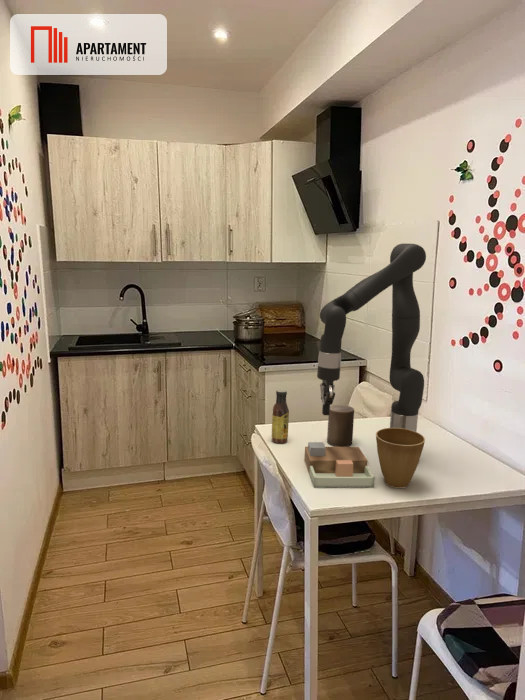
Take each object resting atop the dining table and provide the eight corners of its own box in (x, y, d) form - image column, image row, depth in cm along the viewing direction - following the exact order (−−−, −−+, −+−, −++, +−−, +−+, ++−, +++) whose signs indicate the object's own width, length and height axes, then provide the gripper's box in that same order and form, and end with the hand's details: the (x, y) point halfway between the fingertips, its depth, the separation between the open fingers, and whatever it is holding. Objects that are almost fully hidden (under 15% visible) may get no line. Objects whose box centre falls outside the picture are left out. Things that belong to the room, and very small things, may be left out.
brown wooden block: (357, 460, 181) (358, 446, 180) (366, 475, 169) (367, 460, 168) (304, 460, 180) (304, 446, 179) (309, 474, 168) (310, 460, 167)
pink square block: (351, 460, 167) (353, 463, 164) (350, 474, 168) (352, 478, 165) (336, 460, 167) (338, 463, 164) (335, 474, 167) (337, 478, 165)
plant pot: (368, 472, 171) (372, 426, 168) (413, 474, 171) (417, 428, 168) (377, 493, 157) (381, 443, 154) (426, 495, 156) (431, 445, 153)
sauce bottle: (286, 444, 193) (288, 393, 189) (270, 443, 194) (271, 392, 191) (288, 438, 200) (291, 389, 196) (273, 437, 201) (274, 388, 197)
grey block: (322, 450, 176) (322, 442, 175) (325, 456, 171) (325, 447, 170) (307, 450, 175) (308, 442, 175) (310, 456, 171) (310, 447, 170)
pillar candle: (354, 447, 193) (356, 409, 190) (327, 446, 193) (330, 408, 190) (350, 438, 202) (352, 401, 199) (325, 437, 202) (327, 400, 200)
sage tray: (366, 475, 169) (367, 465, 169) (374, 487, 160) (374, 477, 160) (309, 474, 168) (309, 465, 167) (313, 487, 159) (314, 477, 159)
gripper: (345, 369, 165) (341, 421, 168) (335, 360, 178) (332, 408, 181) (322, 369, 164) (318, 420, 168) (314, 360, 177) (311, 408, 181)
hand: (325, 414), depth 175 cm, fingers closed
